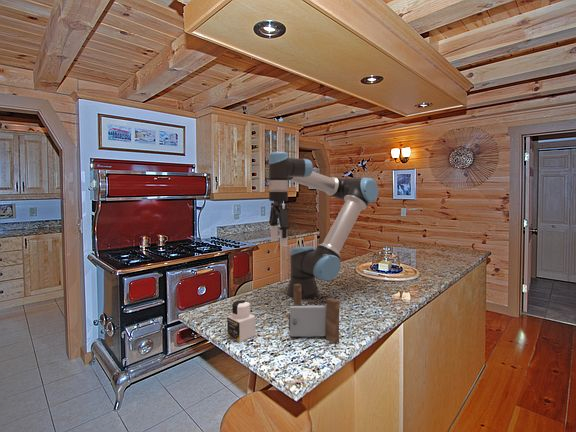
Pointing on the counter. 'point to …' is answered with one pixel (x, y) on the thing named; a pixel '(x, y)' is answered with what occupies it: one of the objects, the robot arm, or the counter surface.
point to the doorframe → (331, 314)
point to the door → (308, 320)
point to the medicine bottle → (241, 321)
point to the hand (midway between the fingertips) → (278, 243)
